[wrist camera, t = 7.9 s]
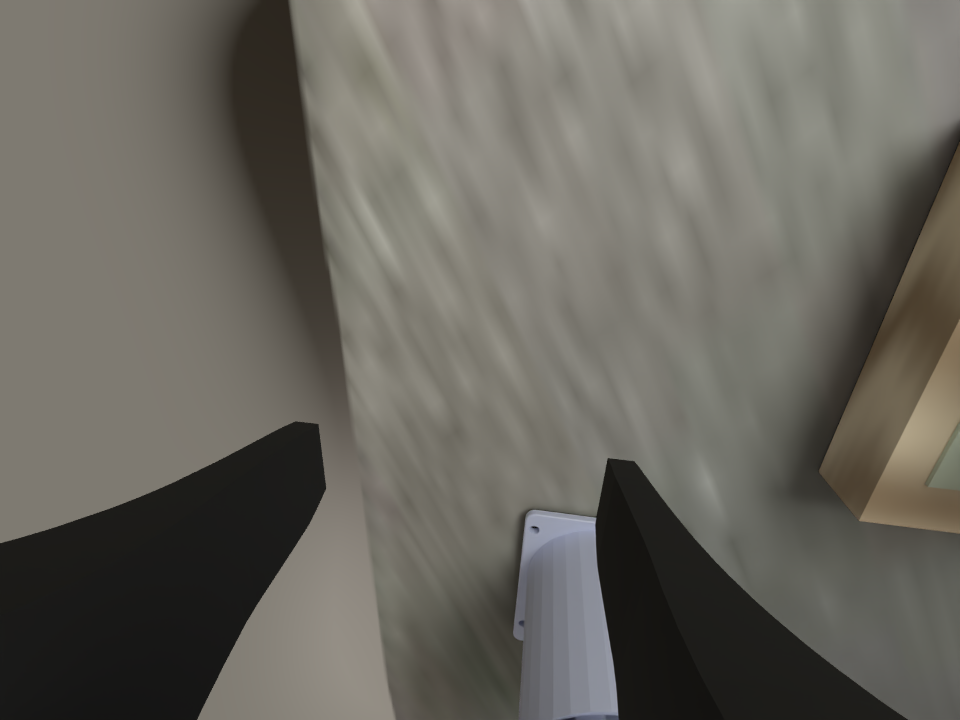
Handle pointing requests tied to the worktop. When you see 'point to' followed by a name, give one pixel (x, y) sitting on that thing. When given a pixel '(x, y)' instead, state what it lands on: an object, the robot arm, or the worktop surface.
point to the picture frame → (910, 391)
